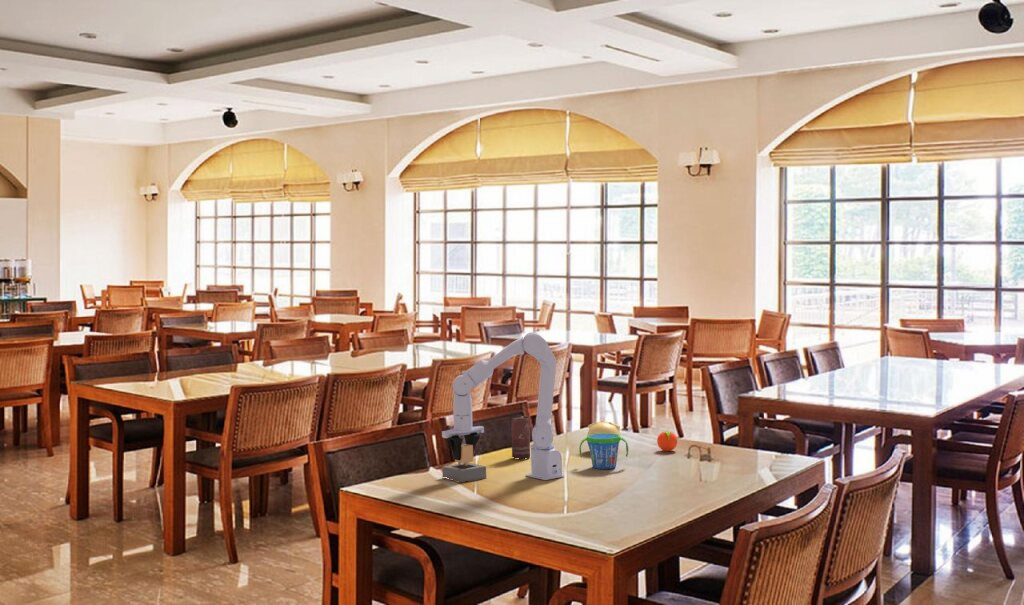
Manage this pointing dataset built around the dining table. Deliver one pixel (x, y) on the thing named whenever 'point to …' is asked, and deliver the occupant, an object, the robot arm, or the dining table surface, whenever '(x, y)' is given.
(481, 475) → the socket
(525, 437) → the can
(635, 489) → the dining table surface
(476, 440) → the robot arm
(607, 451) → the snack cup
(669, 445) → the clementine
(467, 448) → the plug
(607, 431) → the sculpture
